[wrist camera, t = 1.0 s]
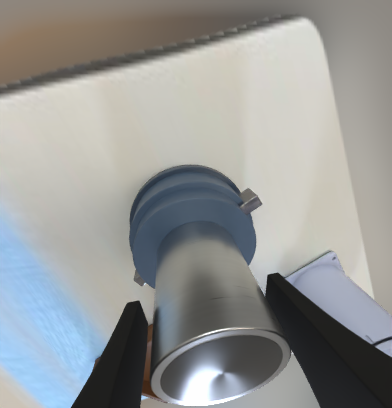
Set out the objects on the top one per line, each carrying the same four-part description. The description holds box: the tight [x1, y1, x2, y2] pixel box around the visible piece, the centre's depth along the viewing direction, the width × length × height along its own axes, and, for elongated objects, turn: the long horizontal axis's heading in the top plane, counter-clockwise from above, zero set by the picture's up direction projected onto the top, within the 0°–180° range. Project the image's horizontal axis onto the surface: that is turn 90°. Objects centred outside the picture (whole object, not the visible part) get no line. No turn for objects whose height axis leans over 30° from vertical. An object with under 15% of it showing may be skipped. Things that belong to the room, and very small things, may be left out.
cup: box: [149, 221, 291, 406], centre depth 10 cm, size 6×6×7 cm
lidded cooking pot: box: [129, 165, 262, 289], centre depth 16 cm, size 11×12×5 cm
